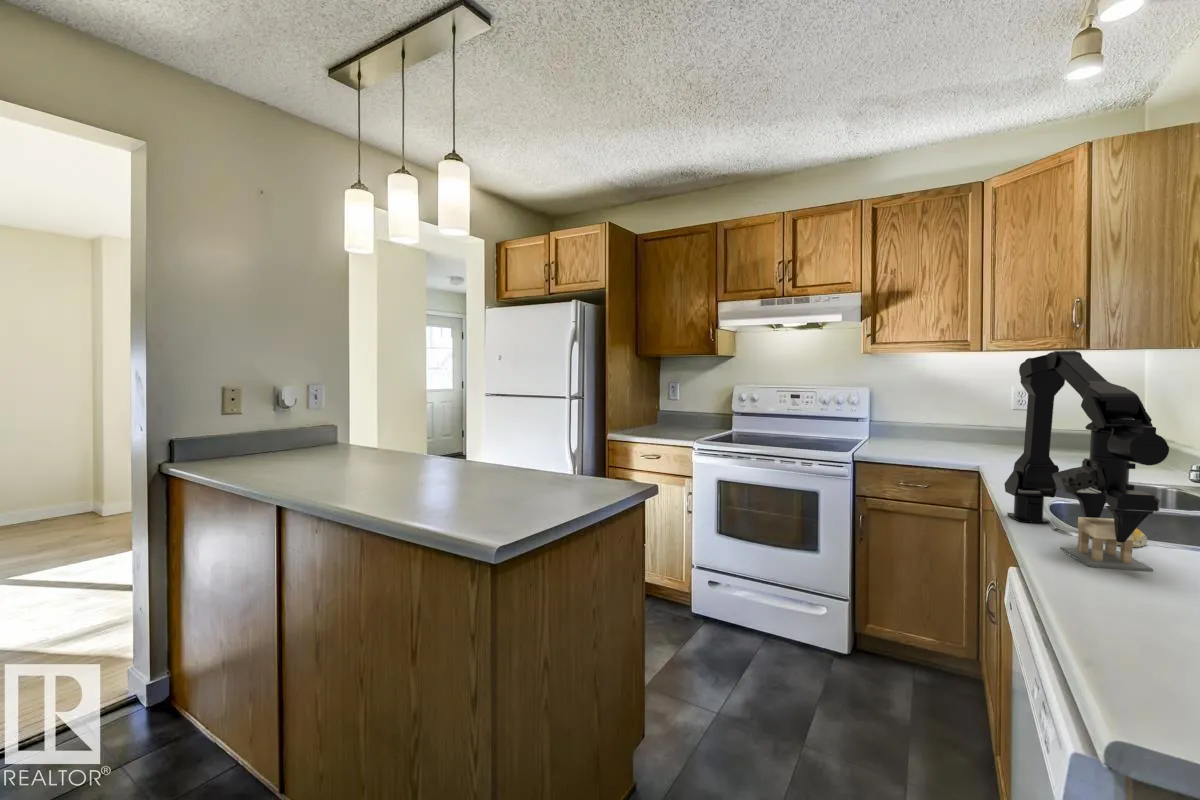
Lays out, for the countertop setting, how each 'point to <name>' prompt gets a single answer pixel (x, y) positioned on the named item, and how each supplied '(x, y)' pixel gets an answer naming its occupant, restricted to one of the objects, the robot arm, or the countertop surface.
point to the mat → (1106, 560)
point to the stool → (1102, 539)
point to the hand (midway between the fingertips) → (1105, 534)
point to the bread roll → (1136, 539)
